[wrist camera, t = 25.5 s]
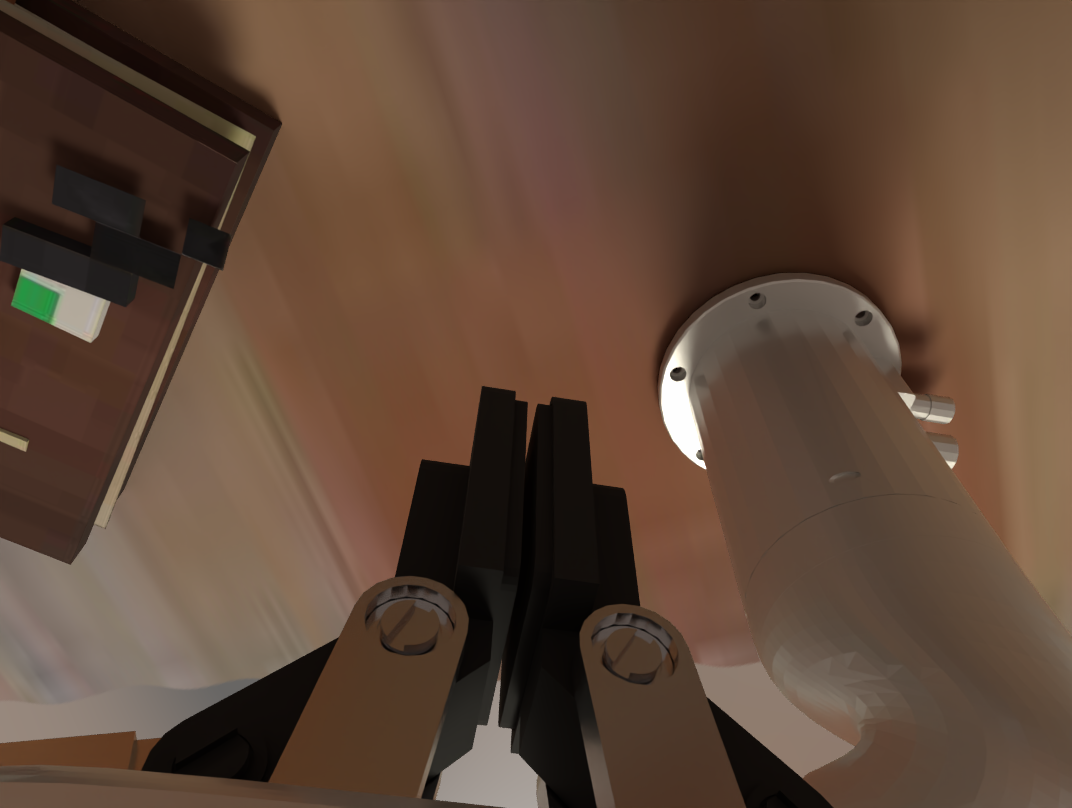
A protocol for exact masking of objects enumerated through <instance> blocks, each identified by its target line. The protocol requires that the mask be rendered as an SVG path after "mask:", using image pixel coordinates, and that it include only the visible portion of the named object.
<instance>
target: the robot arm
mask: <svg viewBox="0 0 1072 808" xmlns="http://www.w3.org/2000/svg"><path fill="white" fill-rule="evenodd" d="M755 293H758V295H757V296H755V297H751V296H752V295H753V294H755ZM861 311H862V312H861ZM859 312H861V313H859ZM858 313H859V314H858ZM676 367H679V368H678V369H674V368H676ZM901 367H902V361H901V354H900V347H899V343H898V340H897V338H896V336H895V333H894V331H893V328H892V326H891V325H890V323H889V322H888V320H887V319H886V318H885V316H884V315H883V313H882V312H881V311H880V310H879V309H878V308H877V306H876V305H875V304H874V303H873V302H872V301H871V300H870V299H869V298H868V297H867V296H866V295H864V294H863V293H861V292H860V291H858V290H856V289H855V288H853V287H852V286H850V285H849V284H846V283H843V282H841V281H838V280H836V279H833V278H830V277H827V276H821V275H815V274H809V273H779V274H773V275H768V276H763V277H757V278H754V279H751V280H748V281H746V282H743V283H740V284H738V285H735V286H732V287H730V288H729V289H727V290H725V291H723V292H722V293H720V294H718V295H716V296H715V297H713V298H711V299H710V300H709V301H707V302H706V303H705V304H704V305H702V306H701V307H700V308H699V309H697V310H696V311H695V312H694V313H693V314H692V315H691V316H690V317H689V318H688V319H687V320H686V322H685V323H684V324H683V325H682V326H681V327H680V328H679V330H678V331H677V332H676V334H675V336H674V337H673V339H672V341H671V343H670V344H669V346H668V348H667V349H666V352H665V355H664V358H663V361H662V364H661V367H660V371H659V379H658V387H657V388H658V398H659V407H660V411H661V415H662V418H663V423H664V425H665V427H666V429H667V431H668V433H669V435H670V437H671V439H672V441H673V442H674V443H675V444H676V446H677V447H678V448H679V449H680V451H681V452H682V453H683V454H684V455H685V456H686V457H688V458H689V459H690V460H691V461H692V462H693V463H695V464H696V465H698V466H700V467H702V468H704V469H706V471H707V475H708V478H709V482H710V486H711V489H712V493H713V497H714V500H715V504H716V508H717V512H718V515H719V519H720V523H721V526H722V530H723V534H724V537H725V541H726V545H727V548H728V552H729V556H730V559H731V563H732V567H733V570H734V574H735V578H736V581H737V585H738V589H739V593H740V596H741V600H742V604H743V607H744V611H745V615H746V617H747V621H748V624H749V628H750V632H751V635H752V639H753V642H754V645H755V648H756V650H757V653H758V656H759V658H760V661H761V663H762V664H763V666H764V668H765V670H766V672H767V674H768V675H769V677H770V679H771V680H772V681H773V683H774V684H775V685H776V686H777V688H778V689H779V690H780V691H781V693H782V694H783V695H784V696H785V697H786V698H787V699H788V700H789V701H790V702H791V703H792V704H793V705H794V706H795V707H796V708H797V709H799V710H800V711H801V712H802V713H803V714H805V715H806V716H807V717H808V718H809V719H811V720H812V721H814V722H815V723H817V724H818V725H820V726H821V727H823V728H825V729H826V730H827V731H829V732H831V733H832V734H834V735H835V736H837V737H839V738H840V739H842V740H844V741H846V742H847V743H849V744H851V745H853V746H855V747H854V749H852V750H851V751H849V752H848V753H847V754H845V755H844V756H842V757H840V758H838V759H836V760H834V761H832V762H830V763H828V764H826V765H824V766H823V767H821V768H819V769H816V770H814V771H812V772H809V773H808V774H807V775H805V777H804V778H801V777H800V776H799V775H798V774H797V773H795V772H794V771H793V770H792V769H791V768H789V767H788V766H787V765H786V764H785V763H784V762H782V761H781V760H780V759H779V758H777V756H775V755H774V754H773V753H772V752H771V751H770V750H768V749H767V748H766V747H765V746H764V745H763V744H761V743H760V742H759V741H758V740H757V739H755V738H754V737H753V736H752V735H751V734H750V733H748V732H747V731H746V730H745V729H744V728H743V727H741V726H740V725H739V724H738V723H737V722H736V721H734V720H733V719H732V718H731V717H729V715H727V714H726V713H725V712H724V711H722V710H721V709H720V708H719V707H718V706H717V705H716V704H714V703H713V702H712V701H711V700H710V699H709V698H707V697H706V694H705V692H704V689H703V686H702V683H701V681H700V678H699V675H698V672H697V669H696V667H695V664H694V661H693V658H692V656H691V653H690V650H689V647H688V645H687V644H686V642H685V640H684V638H683V636H682V634H681V633H680V632H679V631H678V630H677V629H676V628H675V627H674V626H673V625H672V624H671V623H670V622H669V621H668V620H666V619H665V618H663V617H662V616H660V615H659V614H657V613H656V612H653V611H651V610H648V609H645V608H643V607H640V601H639V593H638V585H637V577H636V569H635V561H634V554H633V546H632V538H631V530H630V522H629V514H628V506H627V499H626V494H625V490H624V489H623V488H618V487H611V486H604V485H597V484H593V483H592V470H591V456H590V442H589V429H588V415H587V404H586V402H584V401H577V400H571V399H564V398H557V397H552V398H551V401H550V405H544V404H538V405H537V408H536V412H535V417H534V422H533V427H532V432H531V437H530V442H529V447H528V452H527V457H526V462H525V455H526V432H527V408H528V402H524V401H517V400H515V396H516V392H515V391H511V390H505V389H498V388H492V387H485V386H482V390H481V396H480V402H479V409H478V415H477V421H476V428H475V434H474V441H473V447H472V453H471V460H470V466H465V465H458V464H451V463H444V462H437V461H430V460H423V459H422V461H421V464H420V468H419V473H418V477H417V481H416V486H415V490H414V495H413V499H412V504H411V508H410V513H409V517H408V521H407V526H406V530H405V535H404V539H403V544H402V548H401V553H400V557H399V561H398V566H397V570H396V575H395V577H394V578H390V579H387V580H385V581H382V582H379V583H376V584H375V585H374V586H372V587H371V588H369V589H368V590H367V591H365V592H364V593H363V594H362V596H361V597H360V598H359V600H358V601H357V602H356V604H355V605H354V607H353V609H352V612H351V614H350V616H349V618H348V620H347V622H346V624H345V626H344V628H343V630H342V632H341V634H340V636H339V637H338V638H337V639H335V640H333V641H331V642H329V643H327V644H325V645H324V646H322V647H320V648H318V649H316V650H314V651H312V652H311V653H309V654H307V655H305V656H303V657H301V658H299V659H298V660H296V661H294V662H292V663H290V664H288V665H286V666H284V667H283V668H281V669H279V670H277V671H275V672H273V673H271V674H270V675H268V676H266V677H264V678H262V679H260V680H258V681H257V682H255V683H253V684H251V685H249V686H247V687H246V688H244V689H242V690H240V691H238V692H236V693H234V694H232V695H231V696H229V697H227V698H225V699H223V700H221V701H219V702H218V703H216V704H214V705H212V706H210V707H208V708H206V709H205V710H203V711H201V712H199V713H197V714H195V715H193V716H191V717H190V718H188V719H186V720H184V721H182V722H181V723H180V724H178V725H177V726H175V727H174V728H172V729H171V730H170V731H168V732H167V733H165V734H164V735H163V737H162V738H153V739H143V740H137V737H136V731H130V732H119V733H108V734H97V735H87V736H75V737H65V738H53V739H43V740H31V741H20V742H9V743H0V808H503V807H493V806H484V805H474V804H466V803H457V802H448V801H439V800H436V796H437V793H438V790H439V786H440V782H441V776H442V771H443V770H444V769H445V768H447V767H448V766H450V765H451V764H452V763H454V762H455V761H456V760H458V759H459V758H461V757H462V756H463V755H465V754H466V753H467V752H469V751H470V750H471V749H472V747H473V742H474V737H475V732H476V728H477V725H487V723H488V719H489V715H490V710H491V705H492V701H493V696H494V692H495V687H496V683H497V678H498V674H499V669H500V664H501V660H502V670H501V686H500V687H501V688H500V702H499V721H498V723H499V727H503V728H511V729H512V736H511V753H516V754H519V755H520V756H521V757H522V758H523V759H524V760H525V761H526V763H527V764H528V765H529V766H530V767H531V768H532V769H533V770H534V771H535V772H536V773H537V774H538V778H537V790H536V795H537V802H538V808H1072V636H1071V634H1070V633H1069V632H1068V630H1067V629H1066V628H1065V626H1064V625H1063V624H1062V622H1061V621H1060V620H1059V619H1058V617H1057V616H1056V615H1055V613H1054V612H1053V611H1052V609H1051V608H1050V607H1049V605H1048V604H1047V603H1046V601H1045V600H1044V599H1043V597H1042V596H1041V595H1040V594H1039V592H1038V591H1037V590H1036V588H1035V587H1034V586H1033V584H1032V583H1031V582H1030V580H1029V579H1028V578H1027V576H1026V575H1025V574H1024V572H1023V571H1022V569H1021V568H1020V567H1019V565H1018V564H1017V562H1016V561H1015V560H1014V558H1013V557H1012V555H1011V554H1010V553H1009V551H1008V550H1007V548H1006V547H1005V545H1004V544H1003V543H1002V541H1001V540H1000V538H999V537H998V535H997V534H996V533H995V531H994V530H993V528H992V527H991V525H990V524H989V523H988V521H987V520H986V518H985V517H984V515H983V514H982V513H981V511H980V510H979V508H978V507H977V505H976V504H975V503H974V501H973V500H972V498H971V497H970V495H969V494H968V492H967V491H966V490H965V488H964V487H963V485H962V484H961V482H960V481H959V480H958V478H957V477H956V475H955V474H954V472H953V471H952V468H953V466H954V465H955V463H956V461H957V458H958V454H959V453H958V443H957V441H956V439H955V438H954V437H953V436H951V435H945V434H938V433H932V432H925V431H924V429H923V428H922V426H921V425H920V424H919V422H918V421H917V419H920V420H922V421H928V422H935V423H941V424H946V423H949V422H950V421H951V420H952V418H953V416H954V413H955V403H954V401H953V399H951V398H949V397H943V396H937V395H930V394H925V395H922V394H916V393H913V392H912V391H911V389H910V388H909V387H908V385H907V384H906V382H905V381H904V380H903V378H902V377H901ZM916 418H917V419H916Z"/></svg>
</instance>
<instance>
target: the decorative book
mask: <svg viewBox="0 0 1072 808" xmlns="http://www.w3.org/2000/svg"><path fill="white" fill-rule="evenodd" d="M281 125H282V123H280V122H279V121H277V120H275V119H274V118H272V117H270V116H268V115H267V114H265V113H263V112H262V111H260V110H258V109H256V108H255V107H253V106H251V105H250V104H248V103H246V102H244V101H243V100H241V99H239V98H238V97H236V96H234V95H232V94H231V93H229V92H227V91H225V90H224V89H222V88H220V87H219V86H217V85H215V84H213V83H212V82H210V81H208V80H207V79H205V78H203V77H201V76H200V75H198V74H196V73H195V72H193V71H191V70H189V69H188V68H186V67H184V66H183V65H181V64H179V63H177V62H176V61H174V60H172V59H171V58H169V57H167V56H165V55H164V54H162V53H160V52H158V51H157V50H155V49H153V48H152V47H150V46H148V45H146V44H145V43H143V42H141V41H140V40H138V39H136V38H134V37H133V36H131V35H129V34H128V33H126V32H124V31H122V30H121V29H119V28H117V27H116V26H114V25H112V24H110V23H109V22H107V21H105V20H104V19H102V18H100V17H98V16H97V15H95V14H93V13H92V12H90V11H88V10H86V9H85V8H83V7H81V6H79V5H78V4H76V3H74V2H73V1H71V0H0V537H1V538H4V539H6V540H9V541H11V542H14V543H16V544H19V545H22V546H24V547H27V548H29V549H32V550H34V551H37V552H39V553H42V554H45V555H47V556H50V557H52V558H55V559H57V560H60V561H62V562H65V563H68V564H70V565H71V563H72V562H73V561H74V559H75V558H76V556H77V555H78V554H79V552H80V551H81V549H82V548H83V547H84V545H85V544H86V542H87V539H88V537H89V535H90V532H91V530H92V527H93V525H97V526H99V527H102V528H105V529H106V526H107V524H108V521H109V519H110V516H111V513H112V511H113V508H114V505H115V503H116V500H117V499H118V497H119V496H120V495H121V493H122V492H123V490H124V488H125V486H126V483H127V481H128V479H129V477H130V474H131V472H132V470H133V467H134V465H135V463H136V460H137V458H138V456H139V453H140V451H141V449H142V447H143V444H144V442H145V440H146V437H147V435H148V433H149V430H150V428H151V426H152V423H153V421H154V419H155V416H156V414H157V412H158V410H159V407H160V405H161V403H162V400H163V398H164V396H165V393H166V391H167V389H168V386H169V384H170V382H171V380H172V377H173V375H174V373H175V370H176V368H177V366H178V363H179V361H180V359H181V356H182V354H183V352H184V350H185V347H186V345H187V343H188V340H189V338H190V336H191V333H192V331H193V329H194V326H195V324H196V322H197V319H198V317H199V315H200V313H201V310H202V308H203V306H204V303H205V301H206V299H207V296H208V294H209V292H210V289H211V287H212V285H213V283H214V280H215V278H216V276H217V273H218V271H219V269H220V270H222V271H223V268H224V264H225V260H226V256H227V252H228V248H229V246H230V243H231V241H232V239H233V236H234V234H235V232H236V229H237V227H238V225H239V222H240V220H241V218H242V216H243V213H244V211H245V209H246V206H247V204H248V202H249V199H250V197H251V195H252V192H253V190H254V188H255V186H256V183H257V181H258V179H259V176H260V174H261V172H262V169H263V167H264V165H265V162H266V160H267V158H268V155H269V153H270V151H271V149H272V146H273V144H274V142H275V139H276V137H277V135H278V132H279V130H280V128H281Z"/></svg>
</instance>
